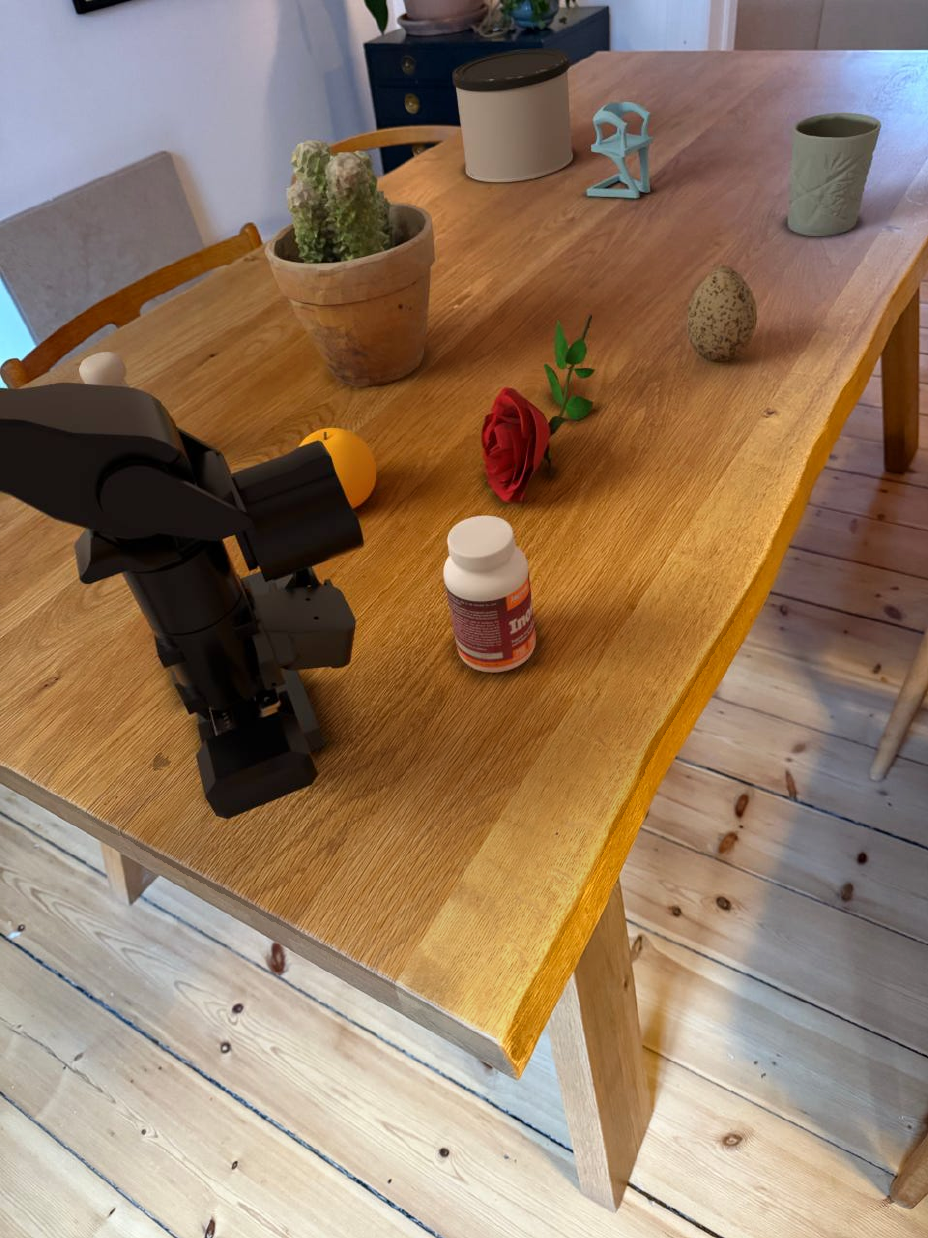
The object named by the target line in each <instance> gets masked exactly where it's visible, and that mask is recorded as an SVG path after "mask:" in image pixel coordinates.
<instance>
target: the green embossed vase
mask: <svg viewBox="0 0 928 1238" xmlns="http://www.w3.org/2000/svg"><path fill="white" fill-rule="evenodd" d="M881 128H882V123H881V121H880V119H878V118H876V117H874V116H871V115H868V114H863V113H857V112H829V113H822V114H817V115H813V116H808V117H805V118H802V119H800V120H799V121H796V123H795V124H794V125H793V127H792V143H791V165H790V175H789V177H790V179H789V180H790V181H789V197H788V204H789V207H788V210H787V227H788V229H789V230H791V231H792V232H794V233H796V234H799V235H804V236H808V237H828V236H835V235H841V234H843V233H846V232H848V231H850V230H852V229H853V228H854V227H855V226H856V224H857V221H858V217H859V213H860V209H861V204H862V201H863V197H864V196H863V195H864V192H865V187H866V183H867V179H868V175H869V174H870V169H871V166H872V162H873V157H874V156H873V154H874V151H875V149H876V146H877V142H878V139H879V135H880V131H881Z"/></svg>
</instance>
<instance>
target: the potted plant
mask: <svg viewBox="0 0 928 1238" xmlns="http://www.w3.org/2000/svg"><path fill="white" fill-rule="evenodd" d="M290 157H291V160H290V165H291V166H294V168H293V174H294V175H295V178H296V180H295V182H294V183H293V184H291V186H290V187H285V188H286V199H287V202H288V204H287V206H286V209H287V210H288V211H289V213H290V216H291V217H292V222H291V223H288V224H287V225H285V226H283V228H281V229H280V230H278V232H277V233H276V235H275V236H274V237H272V238H271V239H270V240H269V241H268V242H267V244H266V246H265V247H264V254H265V257H266V258H267V261H268V262H269V264H270V268H271V272H272V274H273V276H274V277H275V281H276V284H277V287H278V288H279V291H280V292H281V293H282V294H283V295H284V296H285V297H286V298H287V299H288V300H289V303H290V304H291V306H292V309H293V311H294V314H295V315H296V318H297V319H298V321H299V323H300V324H301V326H302V327H303V330H304V331H305V332H306V334H307V336H308V337H309V339H310V341H311V343H312V344H313V345H314V348H316V350H317V351H318V353H319V355H320V356H321V358H322V359H323V361H324V363H325V364H326V366H327V369H328V371H329V372H330V374H331V375H332V376H333V377H334V379H335V380H337V381H338V382H341V383H342V384H344V385H345V384H346V385H349V386H352V387H353V386H354V387H359V388H367V387H368V388H369V387H376V386H382V385H385V384H390V383H394V382H396V381H398V380H400V379H403V378H405V377H407V376H408V375H410V374H411V373H413V371H414V370H416V369H417V368H418V367H419V366H420V364H421V362H422V360H423V357H424V355H425V348H426V347H425V346H426V340H427V332H428V320H429V308H430V307H429V306H430V293H431V292H430V290H431V272H432V271H431V270H432V269H431V268H432V266H433V264H434V263H435V261H436V255H435V235H434V226H433V218H432V215H431V213H430V212H428V210H426V209H424V208H422V207H420V206H417V205H415V204H412V203H411V204H410V203H405V202H395V201H394V202H392V201H388V198H387V197H385V195H384V194H385V192H384V190H382V191H381V190H378V188H377V187H378V186H377V185H378V178H377V175H376V173H375V172H374V170H373V166H374V163H373V162H372V155H370V154H369V153H368V152H367V151H363V150H356V151H354V152H353V151H348V150H347V151H345V152H344V151H343V152H341V151H339V152H338V153H333V152H332V149H331V148H330V146H329V145H328V143H327V142H326V141H325V142H324V141H322V140H320V139H319V140H311V139H308V140H305V141H302V142H299V143H298V144H297V146H296V147H294V150H293V151H292V152H291V153H290Z"/></svg>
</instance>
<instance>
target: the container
mask: <svg viewBox="0 0 928 1238" xmlns="http://www.w3.org/2000/svg"><path fill="white" fill-rule="evenodd" d="M569 69H570V56H569V54H568V53H567V52H565V51H562V50H558V49H553V48H552V49H551V48H525V49H524V48H523V49H517V50H509V51H503V52H498V53H493V54H489V55H486V56H482V57H479V58H476V59H473V60H470V61H467V62H466V63H463V64H462V65H460V66H458V67H456V68H454V70H453V71H452V74H451V75H452V84H453V86H454V87H455V90H456V98H457V105H458V113H459V114H458V115H459V122H460V128H461V129H460V131H461V138H462V144H463V145H462V146H463V153H464V160H465V173H466V175H467V176H468V177H469V178H472V179H474V180H476V181H480V182H486V183H511V182H512V183H513V182H514V183H515V182H522V181H528V180H533V179H537V178H540V177H545V176H547V175H550V174H553V173H555V172H558V171H560V170H562V169H564V168H565V167H566V166H568V165H569V164H570V163H571V162H572V160H573V158H574V153H573V150H572V135H571V134H572V132H571V131H572V130H571V112H570V95H569V94H570V93H569V92H570V91H569V74H568V73H569V72H568V70H569Z"/></svg>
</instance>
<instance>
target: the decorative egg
mask: <svg viewBox="0 0 928 1238" xmlns="http://www.w3.org/2000/svg"><path fill="white" fill-rule="evenodd" d="M688 304H689V305H688V308H687V312H686V318H685V321H686V322H685V325H686V335H687V338H688V341H689V343H690V345H691V346H692V348H693V350H694V351H695V352H696V353H697V354H698V355H700V356H701V357H702V358H704V359H706V360H708V361H714V362H725V361H728V360H731V359H734V358H735V357H737V356H738V355H740V354H741V353H743V351H744V350H745V349H746V348H747V347H748V346H749V344H750V342H751V341H752V339H753V337H754V334H755V331H756V327H757V323H758V322H757V321H758V310H757V304H756V301H755V297H754V294H753V291H752V290H751V288H750V285H749V283H748V282H747V281H746V280H745V279H744V277H743V276H742V275H741V274H740V273H739V272H738V271H737V270H735V269H734V268H733V267H731V266H728V265H727V266H726V265H723V266H722V265H721V266H719V267H717V268H716V269H714V270H713V271H712V272H711V273H709V274H708V275H707V276H706V277H705V278H704V279H703V280H702V281H701V282H700V284H699V285H698V287H697V288H696V290H695V292H694V293H693V296H692V297H691V299H690V302H689V303H688Z"/></svg>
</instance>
